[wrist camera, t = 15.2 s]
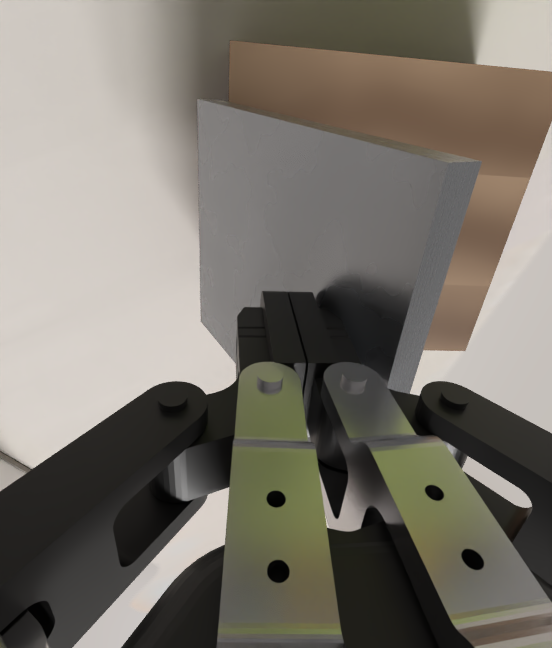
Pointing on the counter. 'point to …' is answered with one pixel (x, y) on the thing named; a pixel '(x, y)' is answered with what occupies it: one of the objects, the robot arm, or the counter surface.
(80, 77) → the counter surface
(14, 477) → the skyscraper
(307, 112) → the hole block
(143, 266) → the counter surface
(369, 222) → the panel
